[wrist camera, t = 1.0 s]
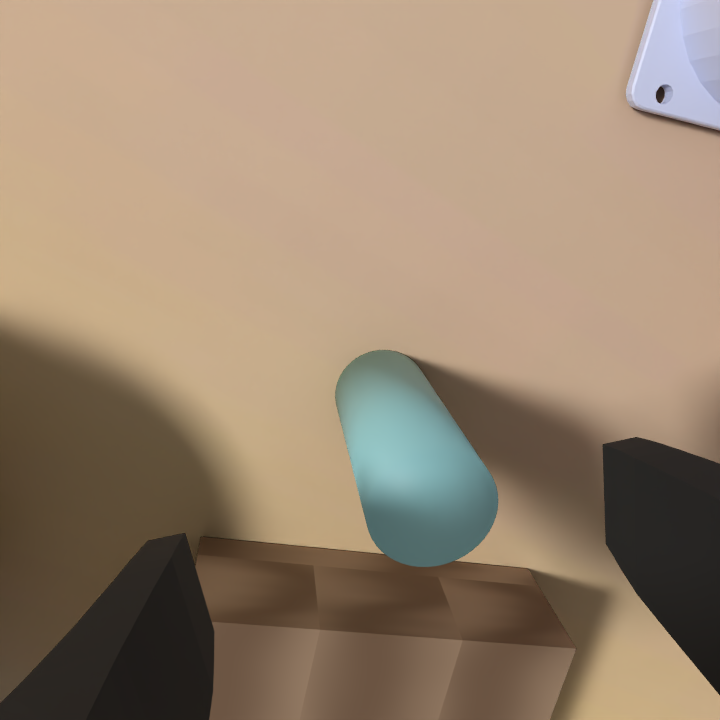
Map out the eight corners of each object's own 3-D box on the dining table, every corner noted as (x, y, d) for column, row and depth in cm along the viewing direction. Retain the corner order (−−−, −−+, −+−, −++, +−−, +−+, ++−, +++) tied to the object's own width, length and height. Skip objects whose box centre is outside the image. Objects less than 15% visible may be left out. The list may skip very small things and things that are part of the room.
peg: (435, 357, 20) (514, 457, 14) (414, 441, 21) (478, 572, 15) (345, 343, 20) (382, 439, 13) (327, 429, 21) (353, 560, 14)
